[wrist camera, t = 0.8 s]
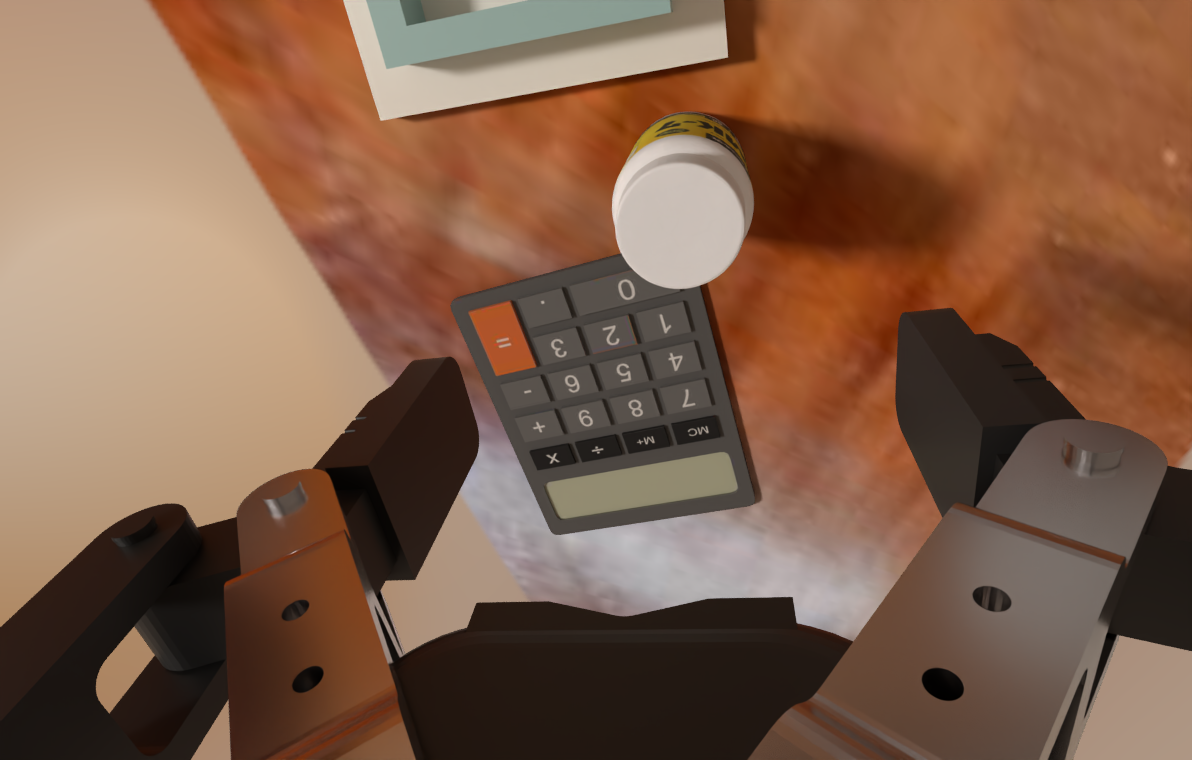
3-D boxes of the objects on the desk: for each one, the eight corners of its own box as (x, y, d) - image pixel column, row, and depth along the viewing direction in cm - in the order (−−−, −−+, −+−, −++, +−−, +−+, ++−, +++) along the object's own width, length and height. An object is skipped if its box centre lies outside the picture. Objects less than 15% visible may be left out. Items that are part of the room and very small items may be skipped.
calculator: (686, 239, 28) (756, 507, 35) (687, 233, 29) (755, 496, 36) (446, 303, 31) (552, 538, 38) (452, 296, 32) (555, 527, 39)
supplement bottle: (764, 133, 26) (788, 182, 19) (717, 241, 29) (723, 322, 21) (650, 91, 26) (631, 125, 19) (613, 204, 28) (583, 273, 21)
